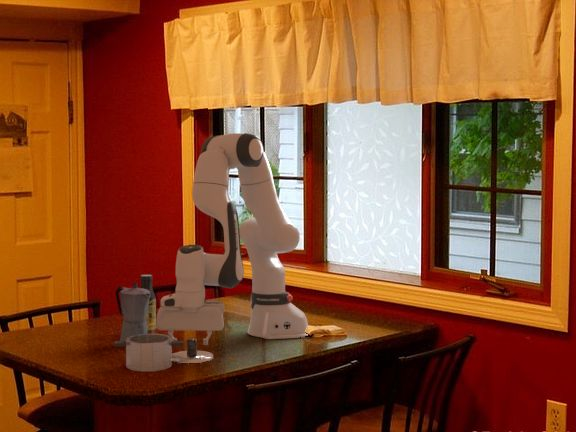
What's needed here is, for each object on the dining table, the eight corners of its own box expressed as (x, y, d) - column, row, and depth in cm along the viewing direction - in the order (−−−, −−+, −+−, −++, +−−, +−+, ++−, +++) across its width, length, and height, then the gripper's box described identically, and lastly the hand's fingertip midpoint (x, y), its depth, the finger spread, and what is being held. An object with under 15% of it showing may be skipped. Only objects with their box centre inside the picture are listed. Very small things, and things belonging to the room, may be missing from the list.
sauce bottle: (152, 336, 313) (151, 277, 311) (134, 335, 314) (133, 276, 312) (158, 332, 319) (158, 274, 317) (141, 331, 320) (140, 273, 318)
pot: (184, 359, 283) (184, 333, 282) (182, 371, 270) (181, 343, 269) (117, 360, 282) (117, 333, 281) (111, 371, 269) (111, 344, 268)
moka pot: (141, 350, 294) (140, 286, 292) (104, 343, 303) (103, 282, 300) (160, 343, 302) (160, 282, 300) (124, 337, 311) (123, 277, 309)
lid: (214, 354, 291) (214, 334, 291) (212, 365, 278) (212, 344, 278) (171, 354, 291) (171, 334, 290) (168, 365, 278) (168, 344, 277)
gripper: (225, 297, 286) (224, 342, 288) (157, 297, 285) (157, 342, 287) (224, 301, 280) (224, 347, 281) (155, 301, 279) (155, 346, 280)
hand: (189, 344), depth 284 cm, fingers open, 8 cm apart
